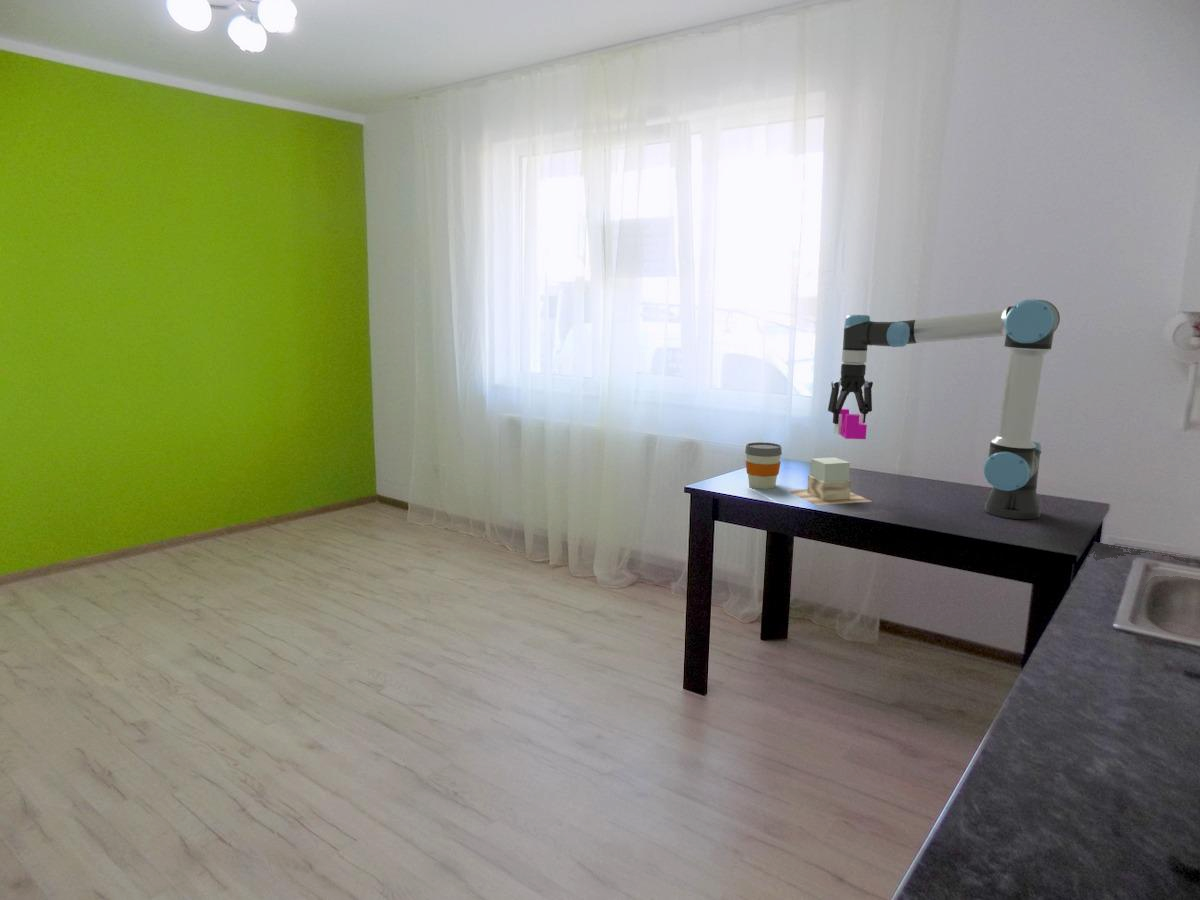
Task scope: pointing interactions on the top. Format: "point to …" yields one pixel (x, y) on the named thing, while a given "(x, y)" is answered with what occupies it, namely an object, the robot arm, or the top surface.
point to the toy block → (852, 426)
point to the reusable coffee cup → (762, 464)
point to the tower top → (830, 469)
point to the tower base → (829, 489)
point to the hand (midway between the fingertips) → (848, 433)
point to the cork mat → (817, 501)
